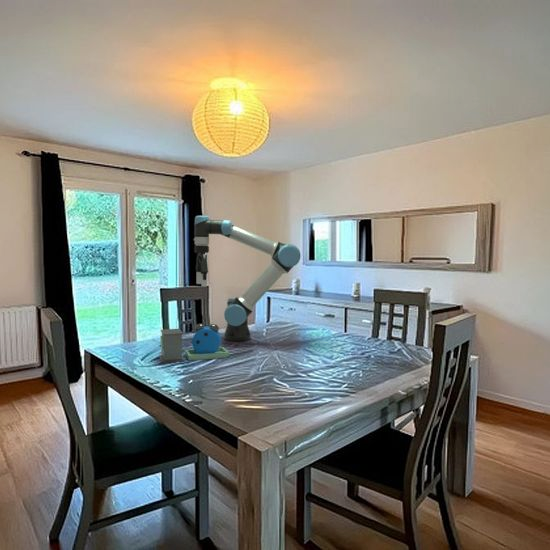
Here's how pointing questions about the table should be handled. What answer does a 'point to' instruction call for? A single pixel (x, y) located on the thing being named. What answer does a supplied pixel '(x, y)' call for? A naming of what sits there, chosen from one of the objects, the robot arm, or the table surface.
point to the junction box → (171, 346)
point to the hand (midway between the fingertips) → (201, 285)
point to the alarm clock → (206, 339)
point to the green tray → (194, 355)
